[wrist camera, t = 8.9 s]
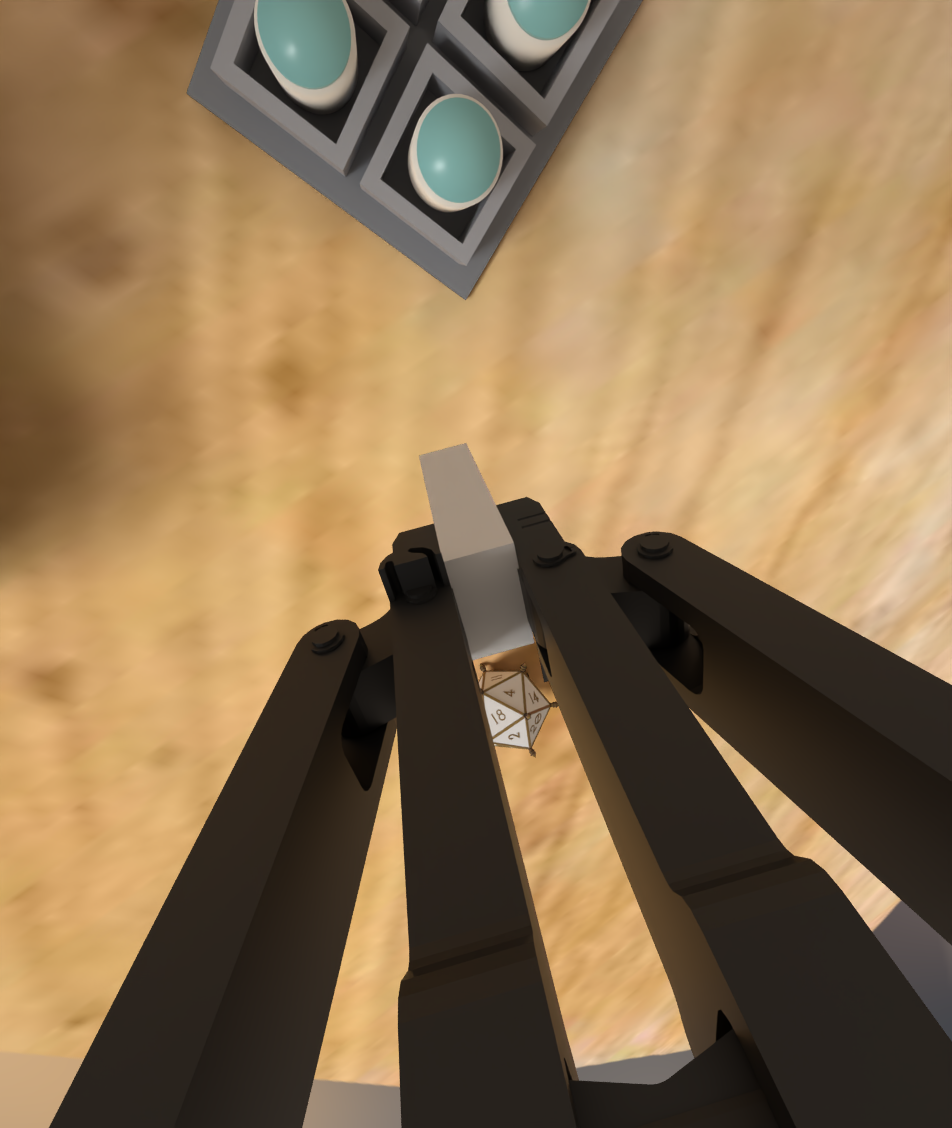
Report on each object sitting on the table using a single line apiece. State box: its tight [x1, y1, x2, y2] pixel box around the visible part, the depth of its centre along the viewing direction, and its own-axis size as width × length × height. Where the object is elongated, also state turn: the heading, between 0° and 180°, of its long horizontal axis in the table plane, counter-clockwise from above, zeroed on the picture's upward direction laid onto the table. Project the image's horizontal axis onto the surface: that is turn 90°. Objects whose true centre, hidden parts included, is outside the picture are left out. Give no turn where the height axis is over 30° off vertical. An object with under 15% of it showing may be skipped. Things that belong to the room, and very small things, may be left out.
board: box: [187, 0, 643, 300], centre depth 28 cm, size 18×18×4 cm
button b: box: [408, 94, 503, 212], centre depth 28 cm, size 4×4×5 cm
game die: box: [479, 663, 559, 757], centre depth 51 cm, size 9×8×10 cm
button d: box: [254, 0, 358, 115], centre depth 26 cm, size 4×4×5 cm
